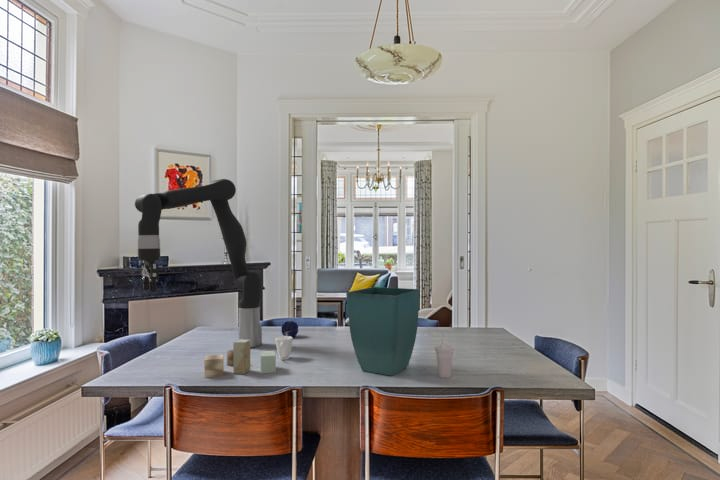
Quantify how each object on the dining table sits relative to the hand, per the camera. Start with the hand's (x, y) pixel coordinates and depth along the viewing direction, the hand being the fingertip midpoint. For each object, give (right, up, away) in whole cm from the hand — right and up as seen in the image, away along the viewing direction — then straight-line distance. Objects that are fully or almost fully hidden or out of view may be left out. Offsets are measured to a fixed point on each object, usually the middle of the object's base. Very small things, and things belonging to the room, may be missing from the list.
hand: (149, 290), depth 161 cm
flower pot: (+87, -28, -7) cm, 92 cm away
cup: (+48, -28, +9) cm, 57 cm away
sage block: (+45, -28, -5) cm, 53 cm away
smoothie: (+107, -27, -15) cm, 112 cm away
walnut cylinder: (+31, -28, +3) cm, 42 cm away
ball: (+44, -29, +49) cm, 72 cm away
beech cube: (+27, -28, -10) cm, 40 cm away
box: (+36, -28, -7) cm, 47 cm away
